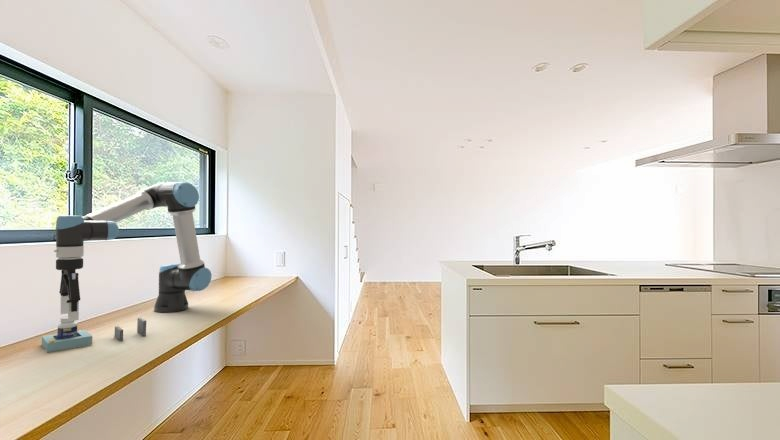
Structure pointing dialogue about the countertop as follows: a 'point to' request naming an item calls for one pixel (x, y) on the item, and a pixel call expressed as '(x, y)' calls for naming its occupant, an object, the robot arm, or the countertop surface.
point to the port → (66, 341)
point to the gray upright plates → (140, 329)
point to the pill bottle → (66, 329)
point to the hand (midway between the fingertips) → (69, 317)
